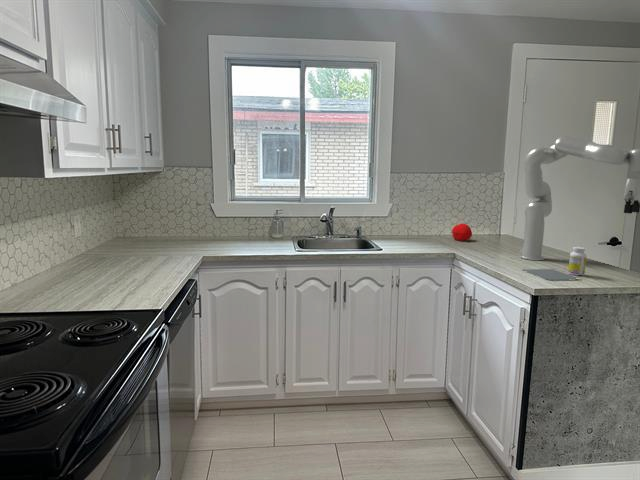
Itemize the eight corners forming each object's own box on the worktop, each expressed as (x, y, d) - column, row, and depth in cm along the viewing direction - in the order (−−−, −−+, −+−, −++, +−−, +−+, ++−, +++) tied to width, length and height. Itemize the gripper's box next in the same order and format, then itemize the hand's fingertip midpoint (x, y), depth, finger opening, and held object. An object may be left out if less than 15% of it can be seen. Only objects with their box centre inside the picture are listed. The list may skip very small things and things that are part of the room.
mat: (522, 270, 213) (522, 269, 213) (552, 269, 216) (552, 268, 216) (549, 280, 194) (549, 279, 194) (581, 280, 196) (581, 279, 196)
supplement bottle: (578, 272, 210) (581, 246, 208) (587, 276, 203) (590, 249, 201) (564, 272, 210) (567, 246, 208) (573, 276, 203) (576, 248, 201)
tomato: (470, 246, 295) (456, 243, 307) (479, 230, 296) (465, 228, 308) (457, 236, 290) (444, 234, 302) (467, 220, 291) (453, 218, 303)
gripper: (633, 176, 213) (628, 211, 216) (620, 175, 202) (615, 212, 205) (651, 176, 207) (646, 212, 210) (639, 176, 197) (634, 214, 199)
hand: (631, 212), depth 208 cm, fingers open, 9 cm apart
